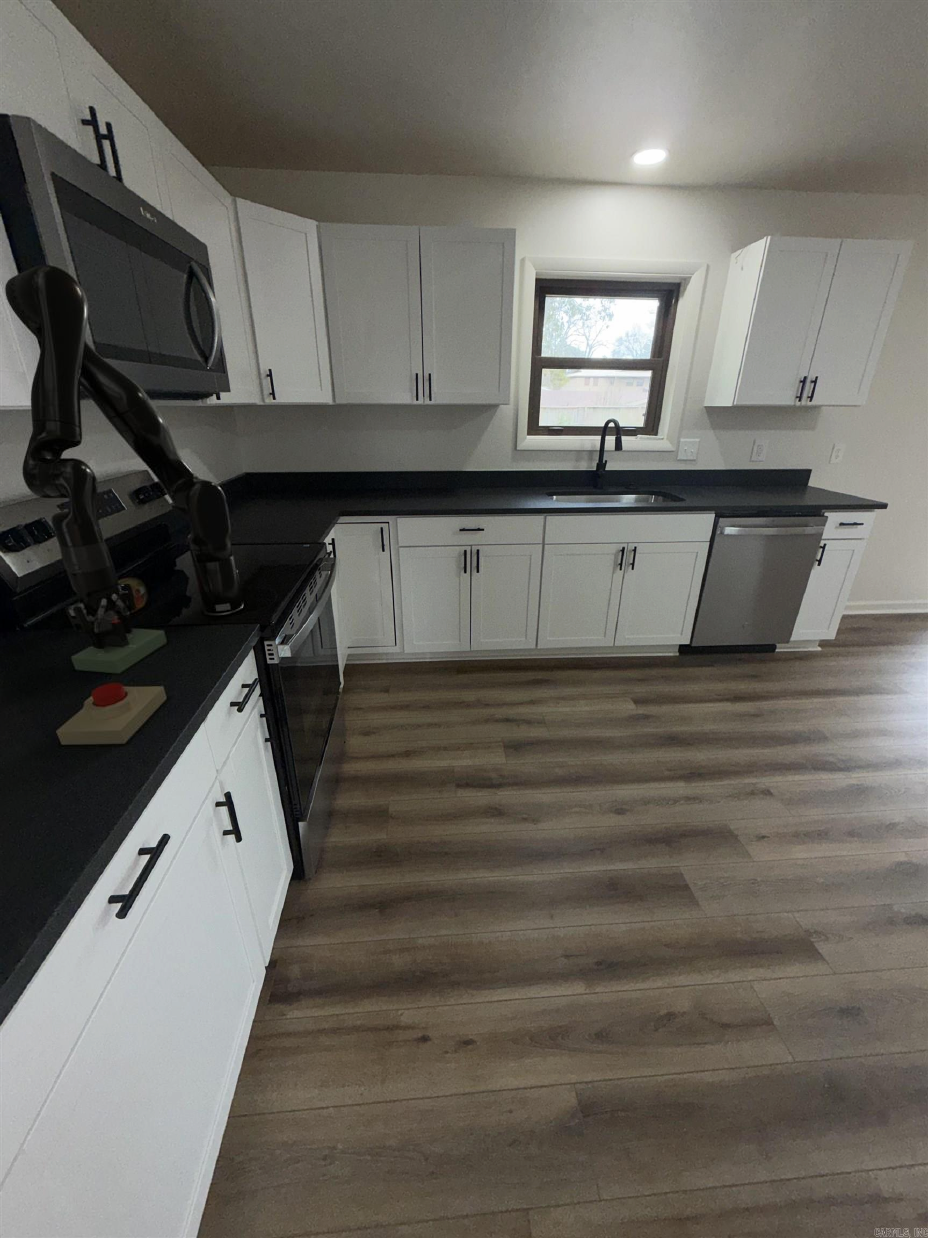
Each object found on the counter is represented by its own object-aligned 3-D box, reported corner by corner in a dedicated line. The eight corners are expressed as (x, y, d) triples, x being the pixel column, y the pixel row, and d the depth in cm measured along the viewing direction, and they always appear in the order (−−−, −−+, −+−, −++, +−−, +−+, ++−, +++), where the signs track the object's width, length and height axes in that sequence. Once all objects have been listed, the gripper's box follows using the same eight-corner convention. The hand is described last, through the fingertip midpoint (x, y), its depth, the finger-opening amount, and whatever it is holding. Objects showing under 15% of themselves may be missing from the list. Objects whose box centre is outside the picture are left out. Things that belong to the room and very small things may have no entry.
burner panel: (127, 639, 113) (123, 627, 112) (167, 642, 112) (163, 629, 111) (75, 670, 101) (70, 656, 100) (119, 673, 99) (114, 659, 98)
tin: (104, 626, 120) (93, 594, 116) (93, 625, 120) (82, 593, 117) (152, 603, 133) (143, 573, 130) (142, 602, 134) (133, 572, 130)
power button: (106, 693, 85) (102, 683, 85) (131, 692, 86) (128, 682, 85) (88, 707, 81) (85, 697, 81) (116, 707, 82) (112, 696, 81)
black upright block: (102, 645, 104) (93, 621, 102) (108, 642, 105) (100, 617, 103) (123, 647, 103) (115, 622, 101) (129, 644, 105) (121, 619, 102)
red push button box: (112, 699, 91) (104, 678, 89) (167, 698, 91) (160, 677, 89) (61, 745, 79) (51, 721, 77) (124, 743, 79) (116, 720, 77)
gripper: (102, 553, 104) (124, 625, 111) (38, 575, 91) (69, 655, 98) (134, 554, 103) (155, 627, 110) (74, 577, 90) (102, 658, 97)
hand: (114, 640), depth 104 cm, fingers open, 6 cm apart
